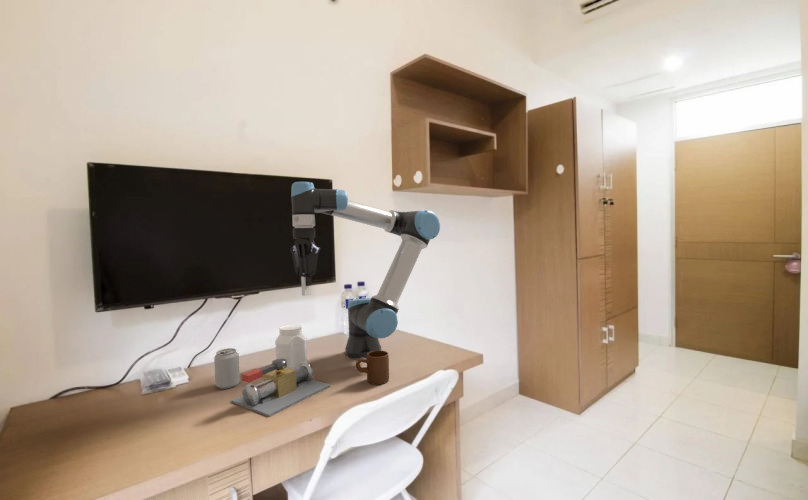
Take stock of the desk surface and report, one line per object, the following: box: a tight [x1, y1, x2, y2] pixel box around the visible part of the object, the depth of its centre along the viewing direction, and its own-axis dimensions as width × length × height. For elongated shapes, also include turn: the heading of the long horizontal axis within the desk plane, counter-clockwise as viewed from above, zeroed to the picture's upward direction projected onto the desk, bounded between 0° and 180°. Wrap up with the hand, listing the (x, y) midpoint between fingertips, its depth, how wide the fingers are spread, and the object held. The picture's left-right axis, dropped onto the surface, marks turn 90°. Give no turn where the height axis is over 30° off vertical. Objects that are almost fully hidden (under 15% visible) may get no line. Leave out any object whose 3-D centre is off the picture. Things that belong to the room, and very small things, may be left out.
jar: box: [274, 324, 308, 370], centre depth 147 cm, size 12×10×15 cm
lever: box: [241, 358, 287, 384], centre depth 117 cm, size 15×4×2 cm, turn 152°
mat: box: [230, 378, 331, 418], centre depth 122 cm, size 24×18×1 cm
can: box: [213, 348, 241, 390], centre depth 129 cm, size 8×8×12 cm
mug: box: [355, 350, 390, 386], centre depth 129 cm, size 12×8×9 cm, turn 121°
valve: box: [242, 361, 314, 406], centre depth 122 cm, size 22×7×8 cm, turn 147°
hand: (306, 294), depth 133 cm, fingers closed
